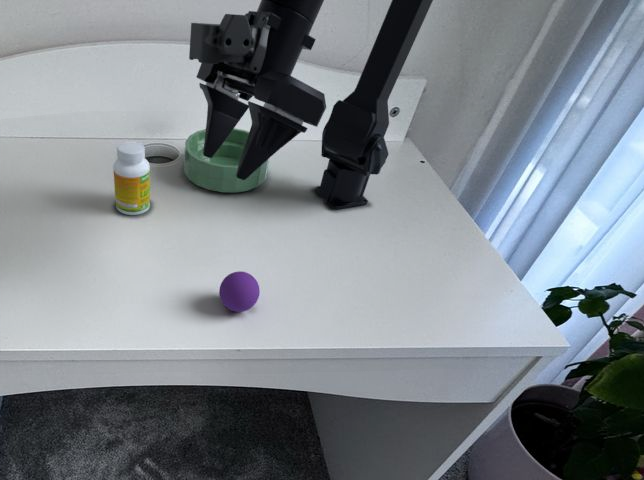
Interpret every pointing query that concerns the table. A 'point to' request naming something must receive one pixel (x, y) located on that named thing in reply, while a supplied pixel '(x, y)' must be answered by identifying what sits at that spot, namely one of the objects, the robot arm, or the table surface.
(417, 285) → the table surface
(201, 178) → the bowl
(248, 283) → the ball
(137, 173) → the supplement bottle
